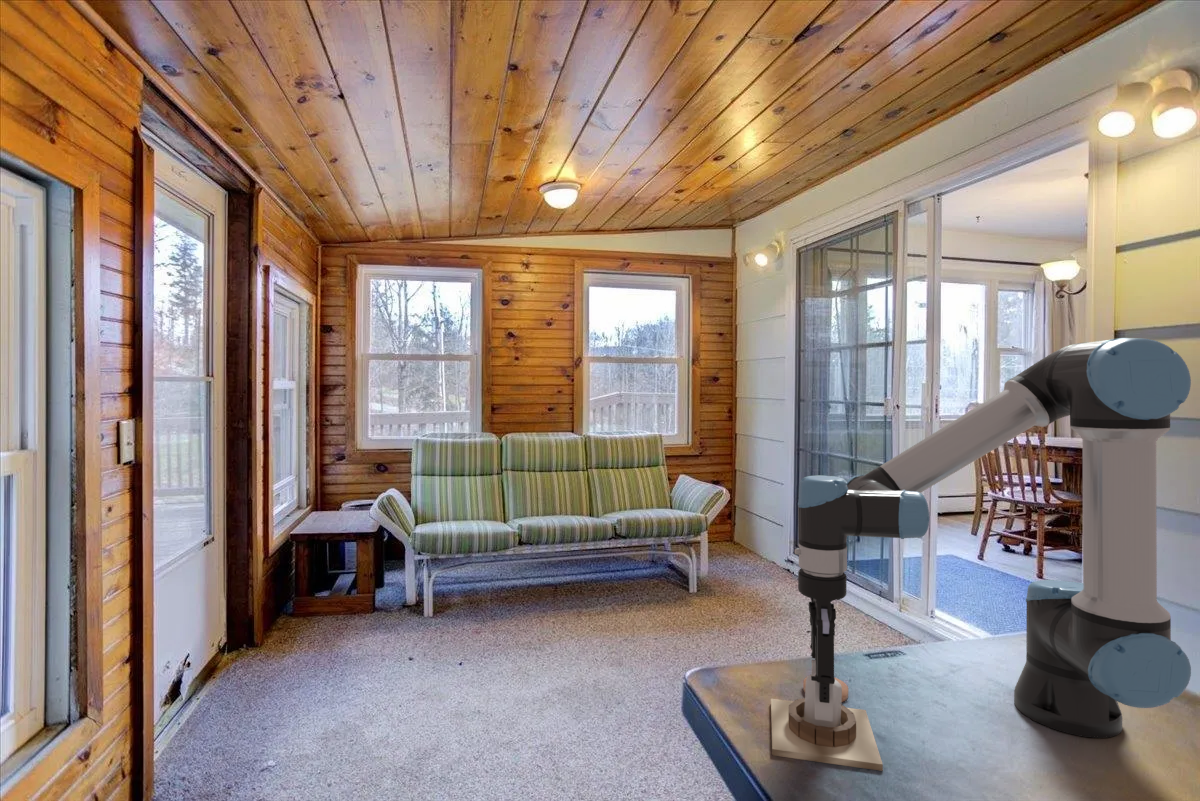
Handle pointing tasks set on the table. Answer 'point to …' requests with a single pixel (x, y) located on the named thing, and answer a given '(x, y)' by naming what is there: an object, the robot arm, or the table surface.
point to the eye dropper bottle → (810, 704)
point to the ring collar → (823, 737)
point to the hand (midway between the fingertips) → (821, 708)
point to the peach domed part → (843, 685)
